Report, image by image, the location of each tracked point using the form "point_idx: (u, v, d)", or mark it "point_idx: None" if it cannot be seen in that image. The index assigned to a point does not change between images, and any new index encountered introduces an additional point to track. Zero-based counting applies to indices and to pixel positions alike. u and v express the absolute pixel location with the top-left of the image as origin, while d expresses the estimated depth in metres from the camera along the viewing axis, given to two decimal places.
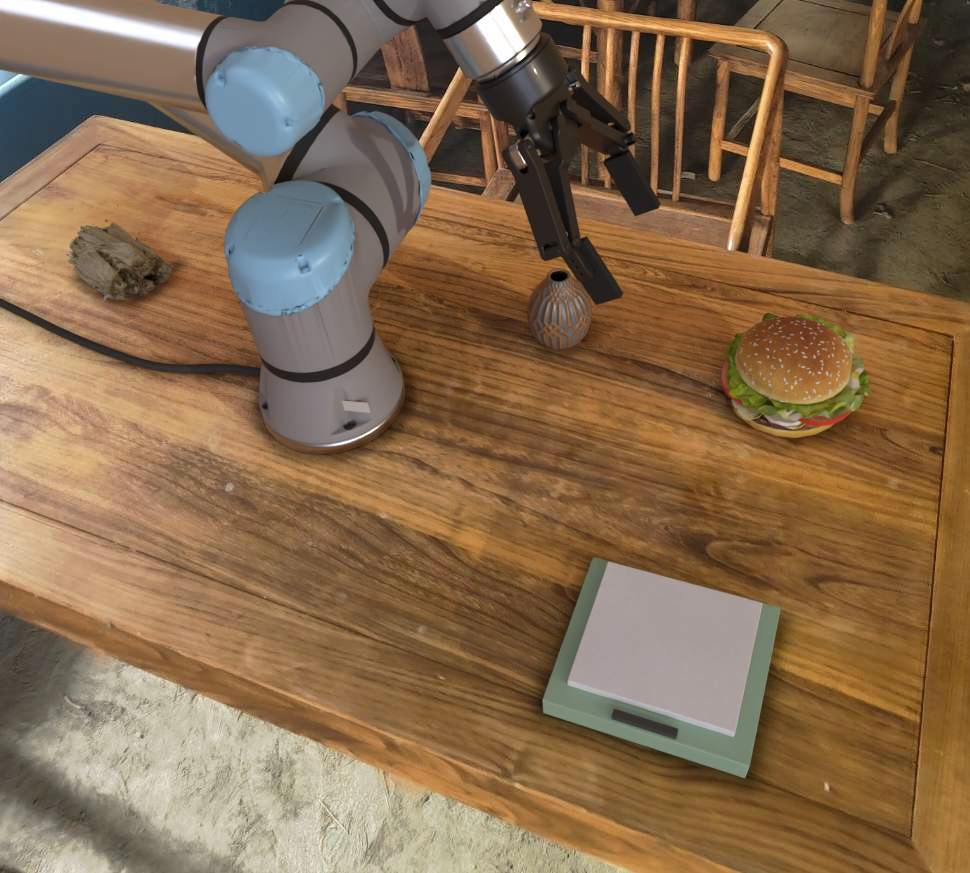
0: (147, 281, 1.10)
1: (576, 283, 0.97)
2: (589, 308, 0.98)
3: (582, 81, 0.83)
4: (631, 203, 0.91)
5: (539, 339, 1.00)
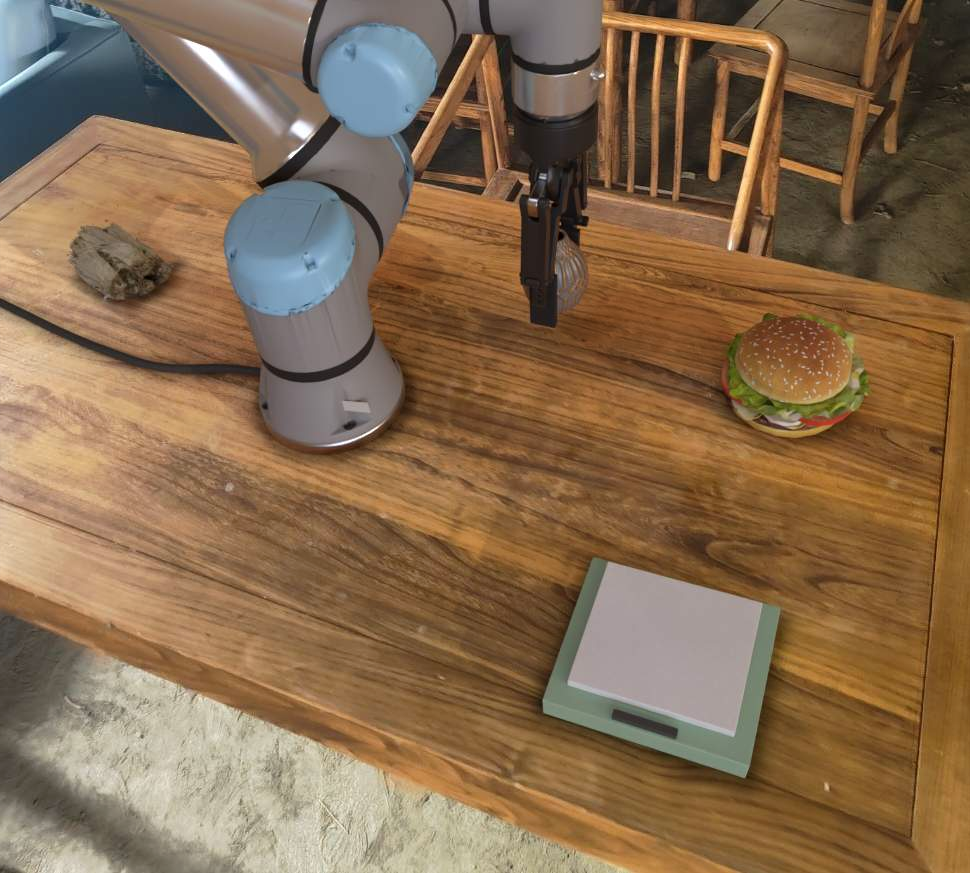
0: (147, 281, 1.10)
1: (573, 244, 0.93)
2: (586, 270, 0.94)
3: None
4: None
5: None
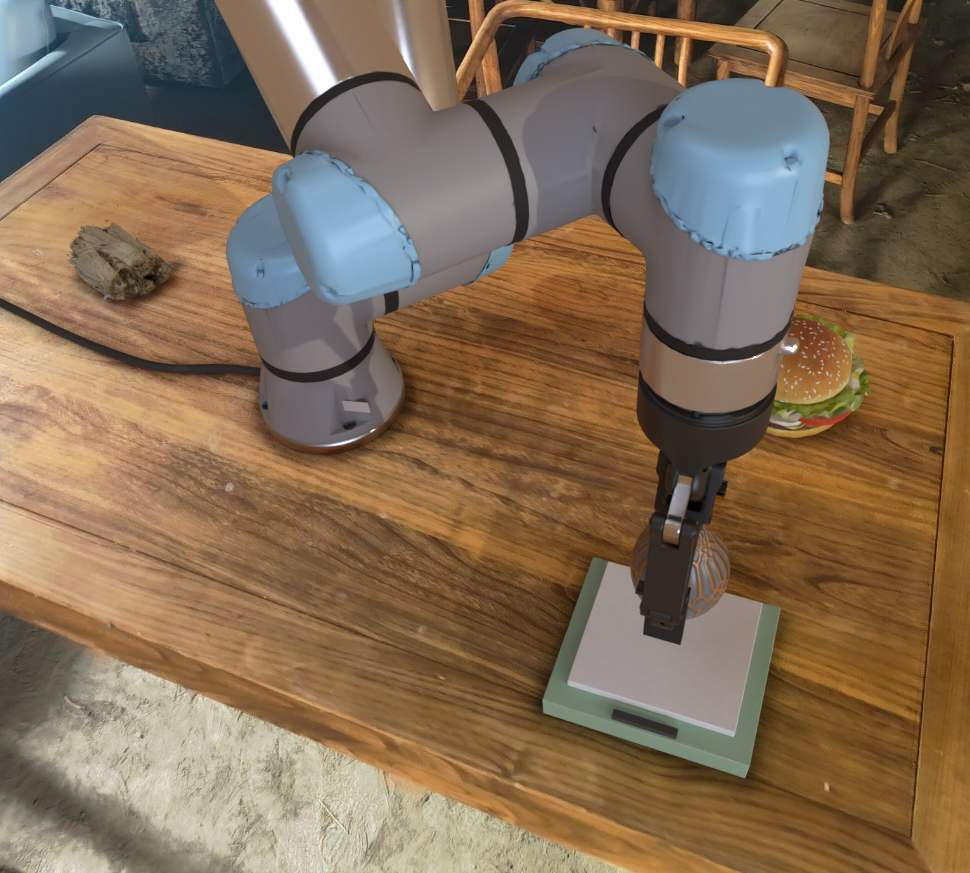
0: (147, 281, 1.10)
1: (711, 532, 0.63)
2: (728, 566, 0.64)
3: None
4: None
5: None
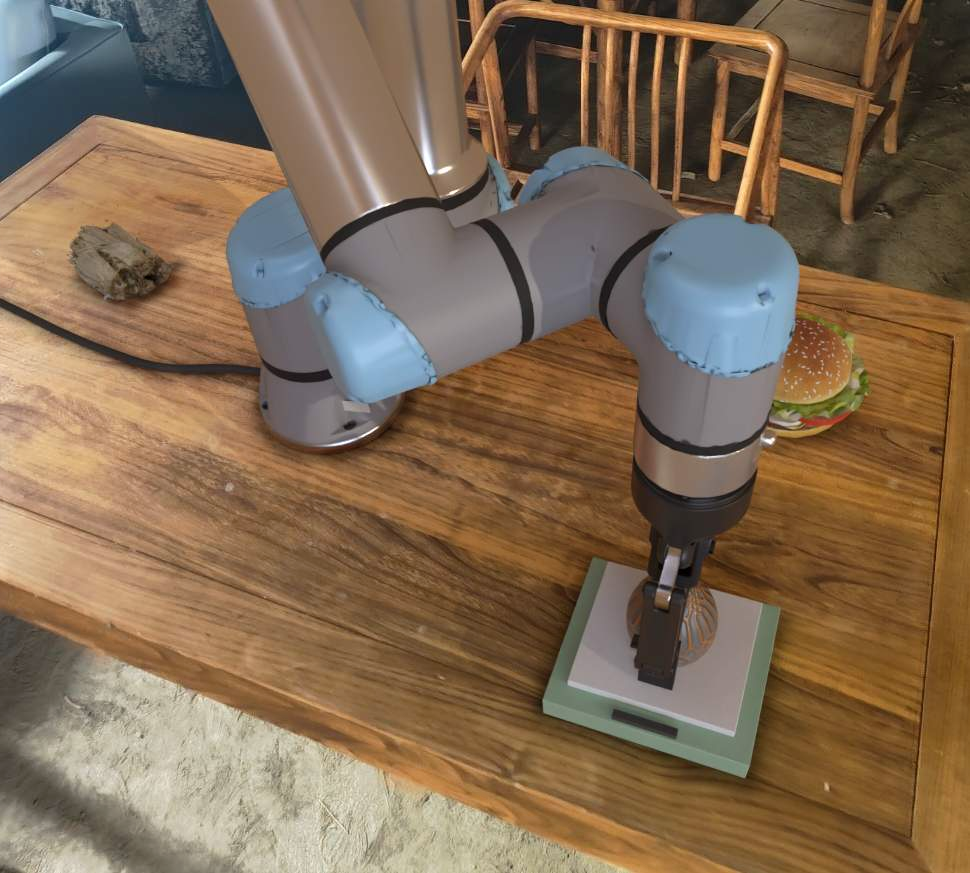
0: (147, 281, 1.10)
1: (700, 589, 0.68)
2: (716, 619, 0.69)
3: None
4: None
5: None
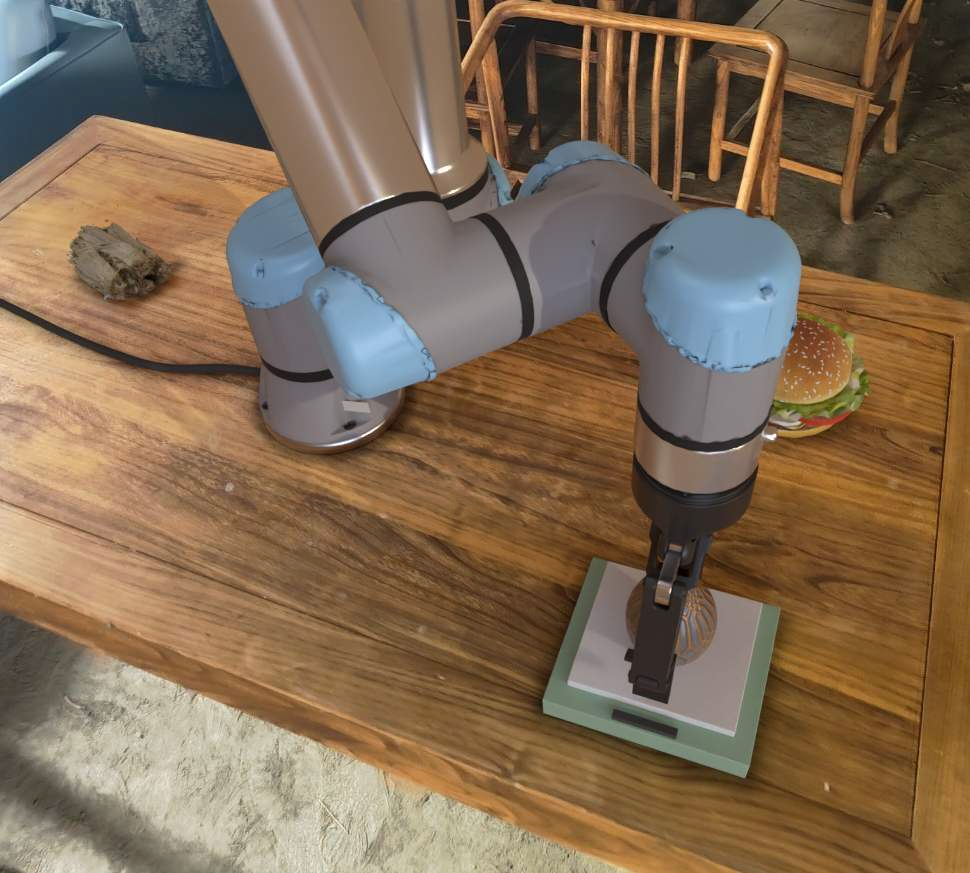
0: (147, 281, 1.10)
1: (699, 588, 0.68)
2: (716, 619, 0.69)
3: None
4: None
5: None
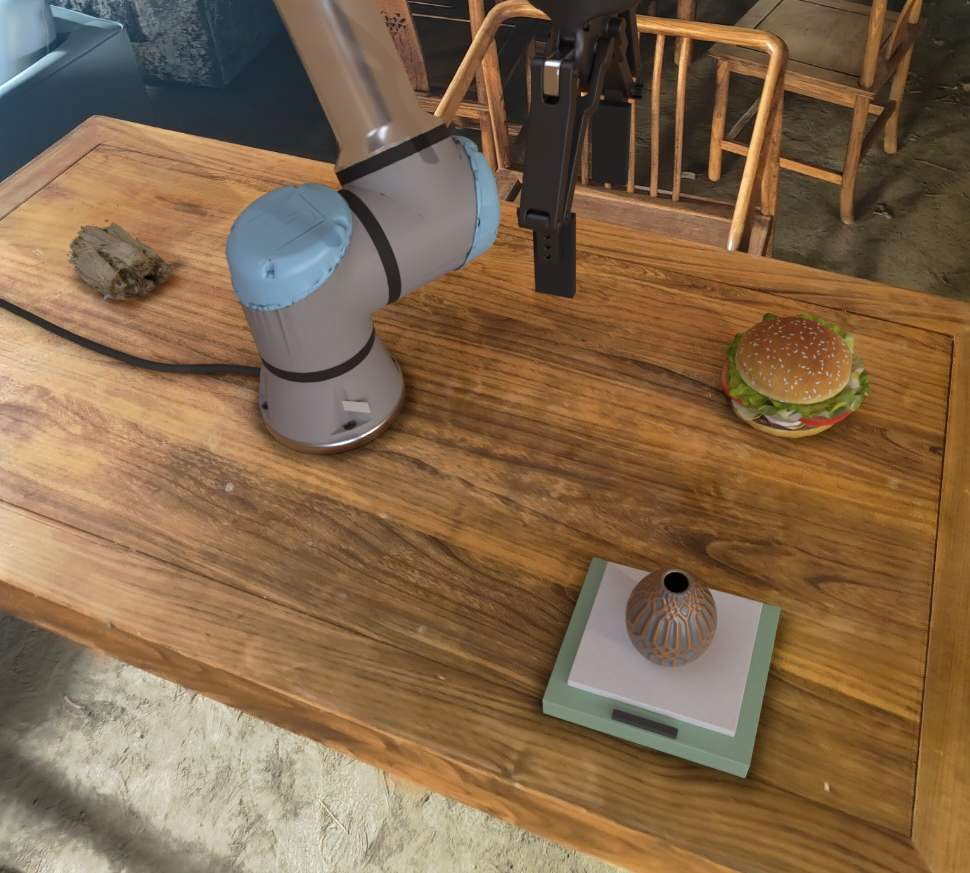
0: (147, 281, 1.10)
1: (699, 589, 0.68)
2: (716, 619, 0.69)
3: None
4: (596, 164, 0.71)
5: (642, 655, 0.71)
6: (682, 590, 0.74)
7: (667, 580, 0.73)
